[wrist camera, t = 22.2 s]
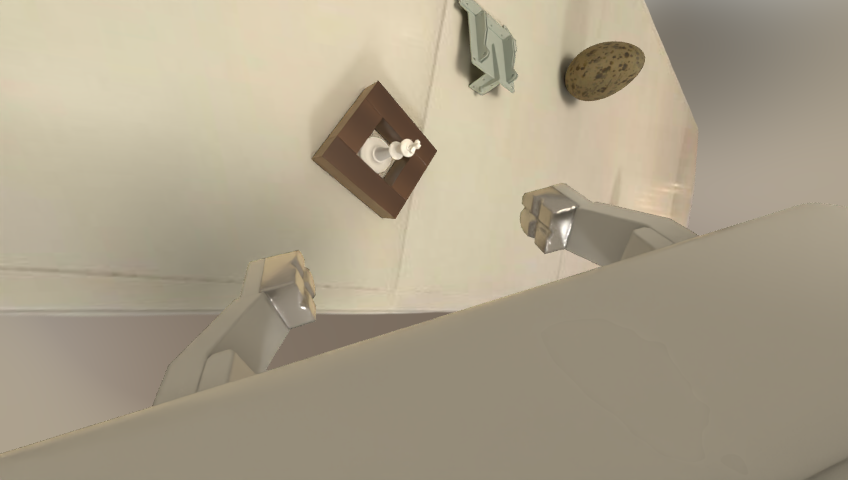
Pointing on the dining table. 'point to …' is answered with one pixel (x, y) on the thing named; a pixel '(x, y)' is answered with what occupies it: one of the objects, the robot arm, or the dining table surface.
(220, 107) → the dining table surface
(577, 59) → the decorative egg
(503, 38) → the metal bracket
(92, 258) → the dining table surface
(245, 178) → the dining table surface
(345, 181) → the socket block
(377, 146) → the chess piece
